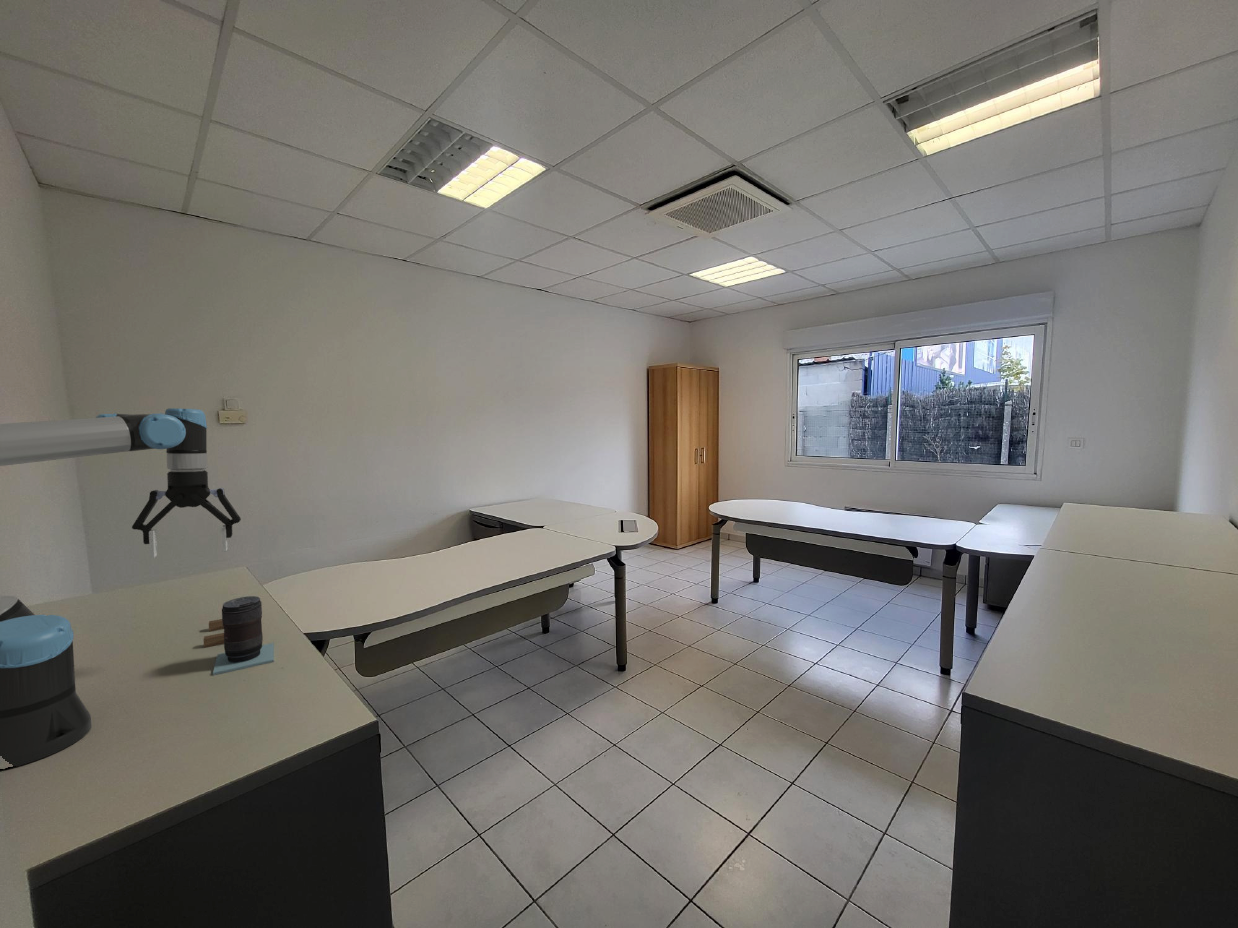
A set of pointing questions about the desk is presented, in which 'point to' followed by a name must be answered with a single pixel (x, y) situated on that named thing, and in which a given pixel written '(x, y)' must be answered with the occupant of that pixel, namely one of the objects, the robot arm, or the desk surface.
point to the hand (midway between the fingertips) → (190, 553)
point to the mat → (225, 666)
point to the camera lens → (242, 628)
